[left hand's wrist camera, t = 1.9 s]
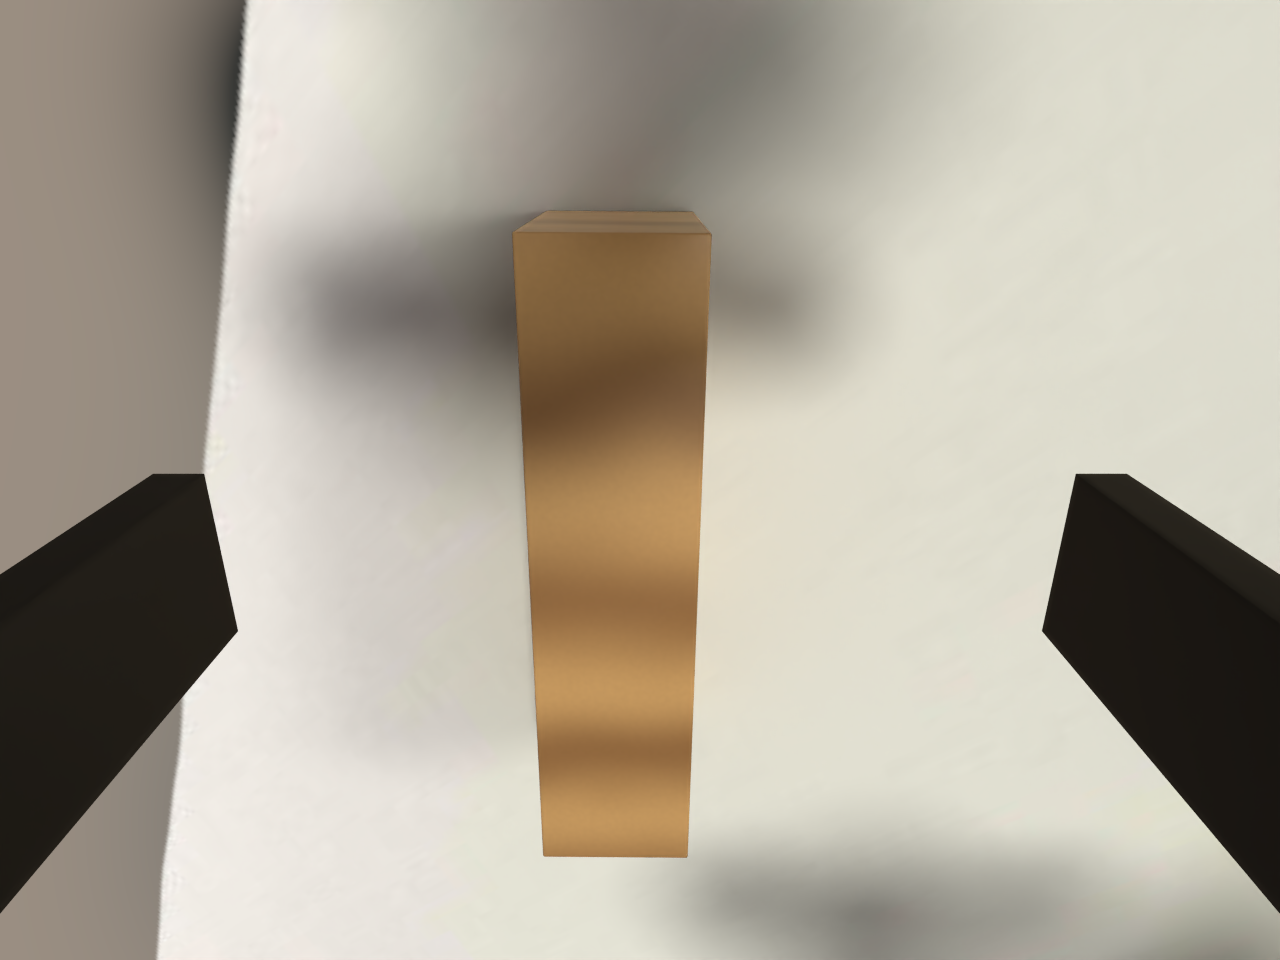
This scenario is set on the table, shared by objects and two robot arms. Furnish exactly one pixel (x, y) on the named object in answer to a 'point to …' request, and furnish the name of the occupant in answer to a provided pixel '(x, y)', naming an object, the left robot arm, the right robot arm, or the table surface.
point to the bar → (613, 517)
